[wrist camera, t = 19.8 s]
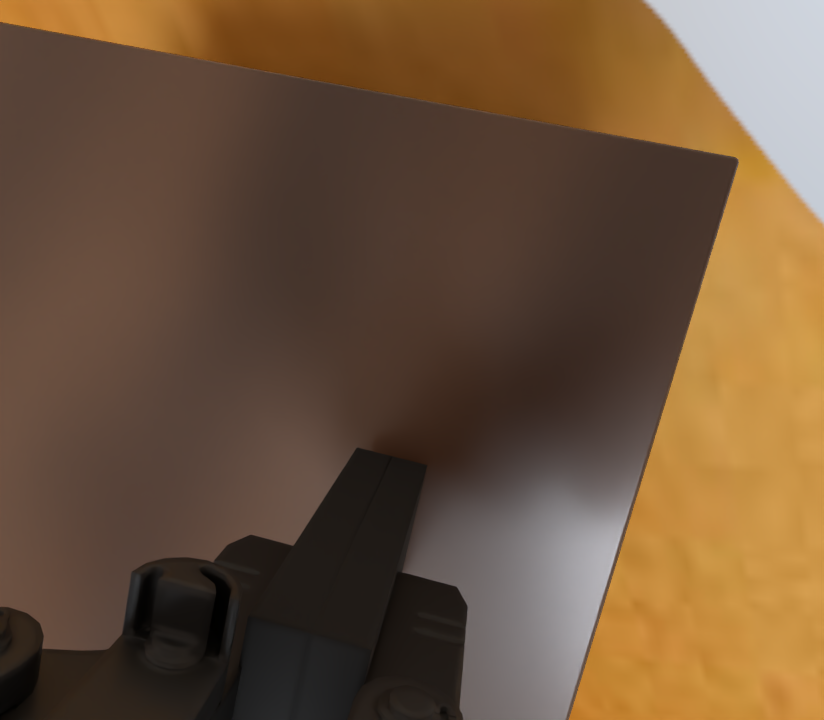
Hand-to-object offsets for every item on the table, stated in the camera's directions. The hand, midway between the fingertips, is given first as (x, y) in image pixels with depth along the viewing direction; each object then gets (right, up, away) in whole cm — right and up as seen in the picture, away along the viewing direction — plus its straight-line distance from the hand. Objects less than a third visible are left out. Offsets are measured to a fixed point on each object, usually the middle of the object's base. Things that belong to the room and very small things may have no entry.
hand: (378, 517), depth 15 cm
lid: (-4, +1, +2) cm, 5 cm away
